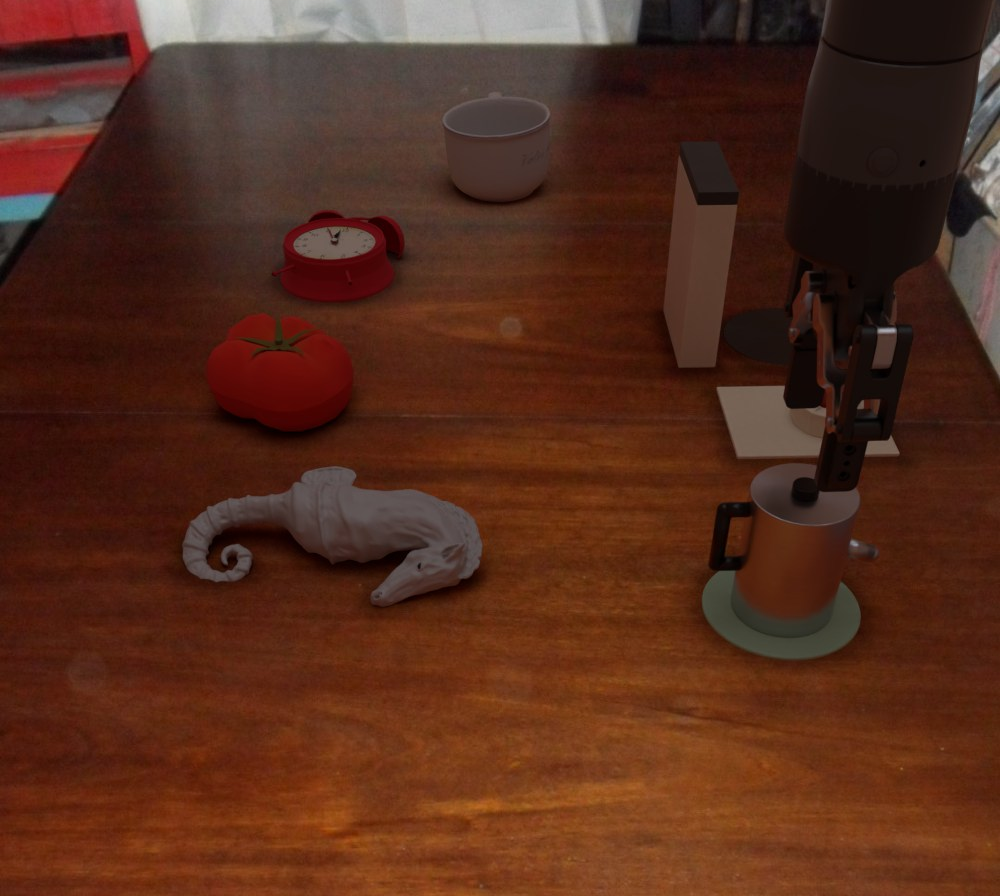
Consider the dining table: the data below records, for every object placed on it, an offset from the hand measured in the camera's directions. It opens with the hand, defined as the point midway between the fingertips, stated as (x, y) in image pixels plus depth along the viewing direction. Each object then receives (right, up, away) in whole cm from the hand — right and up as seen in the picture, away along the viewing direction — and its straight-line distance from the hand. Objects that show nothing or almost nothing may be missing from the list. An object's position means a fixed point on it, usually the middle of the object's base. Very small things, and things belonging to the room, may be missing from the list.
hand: (817, 444), depth 67 cm
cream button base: (+5, +7, +24) cm, 26 cm away
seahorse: (-29, -5, +13) cm, 32 cm away
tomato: (-35, +9, +27) cm, 45 cm away
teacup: (-18, +40, +58) cm, 73 cm away
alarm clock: (-33, +26, +44) cm, 60 cm away
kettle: (0, -8, +8) cm, 12 cm away
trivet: (0, -9, +9) cm, 13 cm away
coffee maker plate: (+6, +16, +34) cm, 38 cm away
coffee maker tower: (-2, +16, +34) cm, 37 cm away
